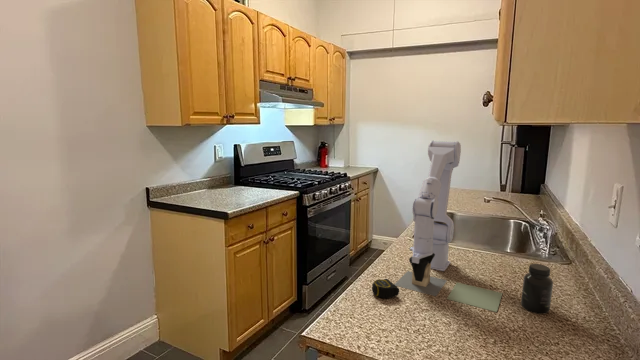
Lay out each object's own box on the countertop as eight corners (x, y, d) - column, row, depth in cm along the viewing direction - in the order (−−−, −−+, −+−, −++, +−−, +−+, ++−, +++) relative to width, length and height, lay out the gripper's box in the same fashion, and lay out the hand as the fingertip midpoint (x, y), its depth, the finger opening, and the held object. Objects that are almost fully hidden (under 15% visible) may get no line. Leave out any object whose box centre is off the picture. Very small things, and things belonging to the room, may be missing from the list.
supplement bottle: (515, 304, 100) (519, 263, 98) (531, 300, 102) (536, 260, 100) (538, 316, 93) (543, 273, 91) (555, 311, 96) (560, 269, 94)
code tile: (407, 271, 122) (407, 271, 121) (447, 280, 115) (447, 280, 115) (393, 285, 111) (393, 285, 111) (436, 296, 104) (436, 296, 104)
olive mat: (456, 282, 113) (456, 282, 113) (502, 293, 106) (502, 293, 106) (446, 299, 102) (446, 298, 102) (496, 312, 95) (496, 311, 95)
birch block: (416, 278, 116) (417, 260, 115) (429, 281, 113) (430, 263, 112) (411, 283, 112) (412, 265, 111) (425, 286, 110) (426, 268, 109)
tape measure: (399, 298, 103) (400, 286, 102) (378, 302, 100) (378, 289, 100) (388, 288, 109) (388, 276, 108) (368, 291, 107) (368, 279, 106)
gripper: (418, 228, 118) (415, 267, 121) (402, 240, 106) (400, 283, 108) (439, 232, 115) (437, 272, 117) (426, 244, 103) (423, 288, 105)
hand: (421, 277), depth 112 cm, fingers closed on birch block, 4 cm apart
